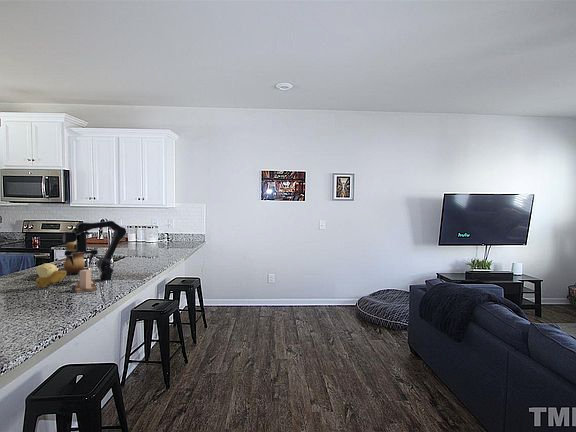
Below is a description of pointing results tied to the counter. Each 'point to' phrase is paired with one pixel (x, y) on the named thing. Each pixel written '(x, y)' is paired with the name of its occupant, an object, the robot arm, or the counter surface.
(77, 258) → the butternut squash
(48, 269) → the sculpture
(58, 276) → the decorative fish
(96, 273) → the counter surface
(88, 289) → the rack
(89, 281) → the clay bar
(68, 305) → the counter surface
